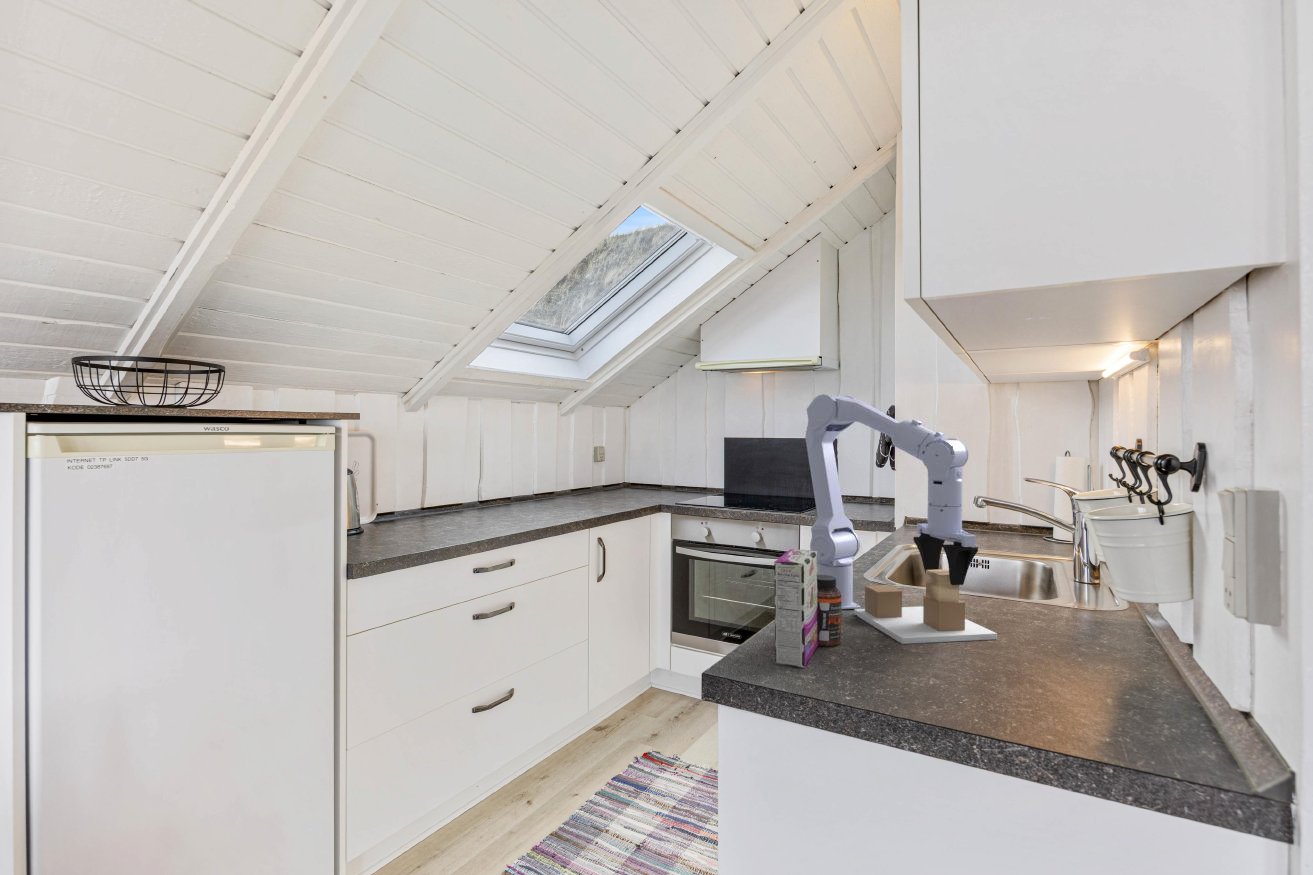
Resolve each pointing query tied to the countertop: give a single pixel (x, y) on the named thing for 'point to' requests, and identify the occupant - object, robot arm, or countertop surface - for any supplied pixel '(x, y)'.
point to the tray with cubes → (918, 618)
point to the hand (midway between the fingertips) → (943, 579)
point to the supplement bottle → (828, 611)
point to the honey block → (941, 586)
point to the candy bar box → (796, 607)
